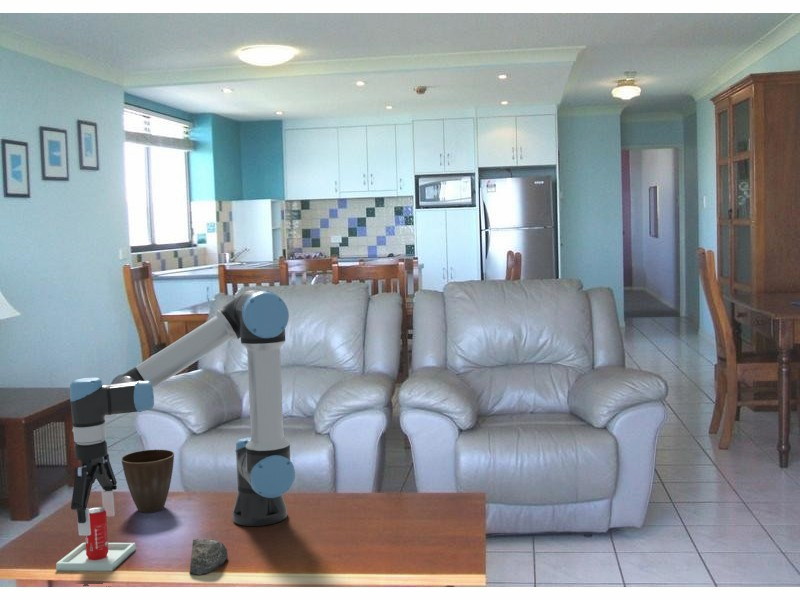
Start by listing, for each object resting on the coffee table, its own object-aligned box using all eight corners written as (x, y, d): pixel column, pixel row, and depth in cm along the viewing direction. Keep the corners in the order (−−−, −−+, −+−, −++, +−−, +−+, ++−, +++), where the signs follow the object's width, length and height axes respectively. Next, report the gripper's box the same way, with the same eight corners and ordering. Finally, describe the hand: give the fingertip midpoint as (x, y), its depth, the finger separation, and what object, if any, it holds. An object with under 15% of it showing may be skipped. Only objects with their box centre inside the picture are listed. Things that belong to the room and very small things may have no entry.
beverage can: (101, 561, 211) (98, 513, 210) (82, 560, 212) (79, 512, 211) (112, 553, 216) (109, 507, 215) (93, 552, 217) (91, 506, 216)
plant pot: (168, 516, 246) (165, 461, 245) (117, 518, 246) (113, 463, 245) (182, 500, 261) (179, 448, 260) (133, 502, 261) (130, 450, 260)
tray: (135, 549, 220) (135, 542, 220) (112, 570, 206) (112, 563, 206) (83, 549, 221) (82, 542, 221) (56, 570, 208) (56, 563, 207)
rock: (193, 555, 215) (192, 530, 214) (228, 553, 216) (228, 527, 215) (188, 576, 201) (187, 549, 201) (225, 574, 203) (224, 547, 202)
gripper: (98, 429, 224) (104, 509, 226) (50, 455, 200) (58, 543, 201) (125, 428, 224) (132, 508, 225) (81, 454, 199) (89, 543, 201)
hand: (97, 525), depth 213 cm, fingers open, 13 cm apart
